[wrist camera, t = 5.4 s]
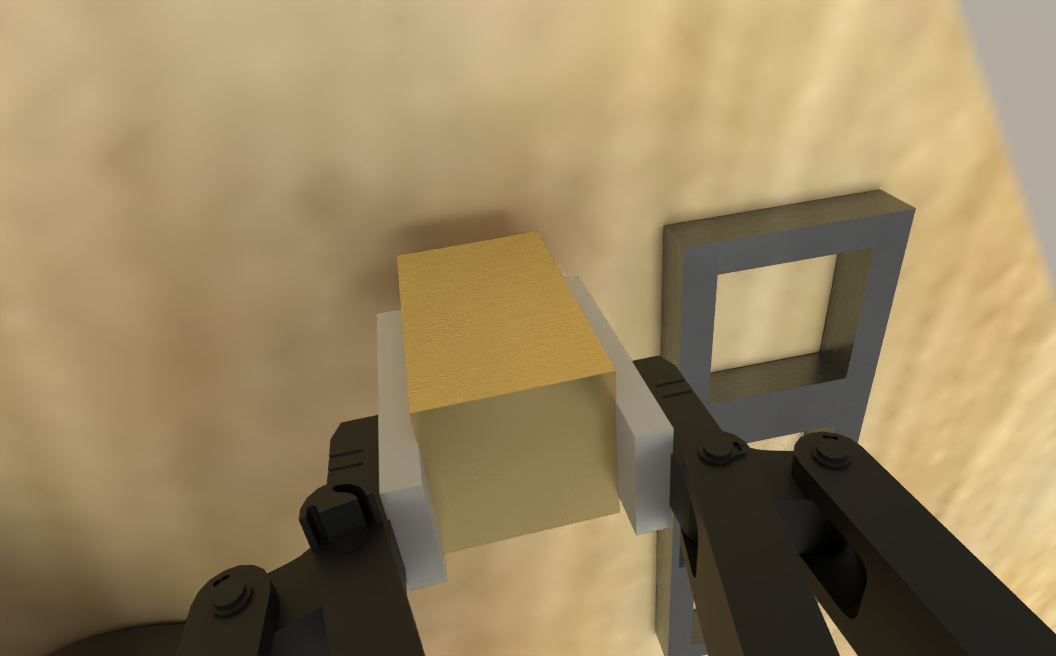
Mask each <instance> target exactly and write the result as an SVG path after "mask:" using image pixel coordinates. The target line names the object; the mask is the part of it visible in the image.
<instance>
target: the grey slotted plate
mask: <svg viewBox="0 0 1056 656" xmlns="http://www.w3.org/2000/svg"><path fill="white" fill-rule="evenodd" d="M915 209H916V208H914V207H912V206H910V205H909V204H907V203H905V202H903V201H901V200H899V199H897V198H896V197H894V196H892V195H890V194H888V193H886V192H884V191H882V190H877V191H871V192H864V193H858V194H852V195H846V196H840V197H834V198H828V199H822V200H816V201H810V202H804V203H798V204H792V205H786V206H780V207H774V208H768V209H762V210H756V211H750V212H744V213H738V214H732V215H726V216H720V217H714V218H708V219H702V220H696V221H690V222H684V223H678V224H672V225H666V226H664V254H663V302H662V350H661V357H663V358H664V359H666V360H667V361H669V362H671V363H672V364H674V365H676V367H677V368H678V370H679V371H680V372H681V374H682V375H683V377H684V378H685V381H686V382H688V383H689V385H690V386H691V388H692V389H693V392H694V393H696V395H697V396H698V397H699V399H700V400H701V402H702V403H703V404H704V406H705V407H706V409H707V410H708V411H709V413H710V414H711V416H712V417H713V418H714V420H715V421H716V423H717V424H718V425H719V427H720V428H721V430H722V431H725V432H728V433H731V434H734V435H736V436H738V437H739V438H741V439H742V440H744V441H745V442H746V443H750V442H755V441H760V440H765V439H770V438H775V437H780V436H785V435H790V434H794V433H799V432H804V431H806V432H805V435H807V434H809V433H813V432H822V431H824V432H831V433H837V434H840V435H843V436H845V437H848V438H850V439H852V440H853V441H855V442H856V443H858V439H859V435H860V431H861V427H862V423H863V419H864V415H865V411H866V407H867V403H868V399H869V395H870V391H871V387H872V383H873V379H874V375H875V371H876V367H877V363H878V359H879V355H880V351H881V346H882V342H883V338H884V334H885V330H886V326H887V322H888V318H889V314H890V310H891V306H892V302H893V298H894V294H895V290H896V286H897V282H898V278H899V274H900V270H901V266H902V262H903V258H904V254H905V250H906V246H907V242H908V237H909V233H910V229H911V225H912V221H913V217H914V213H915ZM838 253H839V254H838ZM833 254H838V260H837V265H836V270H835V276H834V281H833V286H832V292H831V297H830V303H829V308H828V313H827V319H826V324H825V330H824V335H823V340H822V346H821V351H820V353H814V354H809V355H804V356H799V357H794V358H788V359H783V360H778V361H773V362H767V363H762V364H757V365H752V366H746V367H741V368H736V369H731V370H726V371H720V372H715V373H710V370H711V357H712V343H713V330H714V316H715V302H716V289H717V275H719V274H725V273H730V272H736V271H742V270H747V269H753V268H759V267H764V266H770V265H776V264H782V263H787V262H793V261H799V260H804V259H810V258H816V257H821V256H827V255H833ZM679 543H680V524H679V522H678V521H677V519H676V517H675V515H674V513H673V511H672V509H671V527H669V528H665V529H661V530H658V540H657V588H656V635H657V637H658V640H659V643H660V645H661V648H662V651H663V653H664V656H703V655H707V654H708V653H707V649H706V645H705V641H704V637H703V633H702V629H701V625H700V622H699V618H698V614H697V610H694V611H693V603H694V598H693V594H692V590H691V586H690V582H689V578H688V574H687V570H686V566H685V563H684V567H682V568H679ZM814 597H815V596H814ZM815 599H816V597H815ZM816 601H817V604H818V600H817V599H816Z"/></svg>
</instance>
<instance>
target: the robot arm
mask: <svg viewBox="0 0 1056 656" xmlns="http://www.w3.org/2000/svg"><path fill="white" fill-rule="evenodd" d="M564 280H565V281H566V283H567V285H568V287H569V289H570V290H571V292H572V294H573V296H574V298H575V299H576V301H577V303H578V305H579V306H580V308H581V310H582V312H583V314H584V315H585V317H586V319H587V321H588V322H589V324H590V326H591V328H592V330H593V331H594V333H595V335H596V337H597V339H598V340H599V342H600V344H601V346H602V347H603V349H604V351H605V353H606V355H607V356H608V358H609V360H610V362H611V363H612V365H613V367H614V369H615V371H616V432H617V465H618V495H619V497H620V500H621V502H622V504H623V506H624V509H625V511H626V513H627V515H628V518H629V520H630V522H631V524H632V527H633V529H634V531H635V533H636V535H640V534H644V533H648V532H652V531H657V530H661V529H665V528H669V527H671V509H672V511H673V513H674V515H675V517H676V519H677V521H678V522H679V524H680V543H679V568H682V567H684V563H685V566H686V570H687V574H688V578H689V582H690V586H691V590H692V594H693V598H694V602H695V606H696V610H697V614H698V618H699V622H700V625H701V629H702V633H703V637H704V641H705V645H706V649H707V653H708V656H840V655H839V652H838V650H837V648H836V645H835V643H834V641H833V638H832V636H831V634H830V631H829V629H828V627H827V624H826V622H825V620H824V618H823V615H822V613H821V611H820V608H819V606H818V604H817V601H816V599H817V600H818V601H819V603H820V604H821V605H822V607H823V608H824V610H825V611H826V612H827V614H828V615H829V616H830V618H831V619H832V621H833V622H834V623H835V625H836V626H837V628H838V629H839V630H840V632H841V633H842V634H843V636H844V637H845V639H846V640H847V641H848V643H849V644H850V645H851V647H852V648H853V650H854V651H855V652H856V654H857V655H858V656H1056V634H1055V633H1054V632H1053V631H1052V630H1051V629H1050V628H1049V627H1048V626H1047V625H1046V624H1045V623H1044V622H1043V621H1042V620H1041V619H1040V618H1039V617H1038V616H1037V615H1036V614H1034V613H1033V612H1032V611H1031V610H1030V609H1029V608H1028V607H1027V606H1026V605H1025V604H1024V603H1023V602H1022V601H1021V600H1020V599H1019V598H1018V597H1017V596H1016V595H1015V594H1014V593H1013V592H1012V591H1011V590H1010V589H1009V588H1008V587H1007V586H1006V585H1004V584H1003V583H1002V582H1001V581H1000V580H999V579H998V578H997V577H996V576H995V575H994V574H993V573H992V572H991V571H990V570H989V569H988V568H987V567H986V566H985V565H984V564H983V563H982V562H981V561H980V560H979V559H978V558H977V557H976V556H974V555H973V554H972V553H971V552H970V551H969V550H968V549H967V548H966V547H965V546H964V545H963V544H962V543H961V542H960V541H959V540H958V539H957V538H956V537H955V536H954V535H953V534H952V533H951V532H950V531H949V530H948V529H947V528H946V527H944V526H943V525H942V524H941V523H940V522H939V521H938V520H937V519H936V518H935V517H934V516H933V515H932V514H931V513H930V512H929V511H928V510H927V509H926V508H925V507H924V506H923V505H922V504H921V503H920V502H919V501H918V500H917V499H916V498H914V497H913V496H912V495H911V494H910V493H909V492H908V491H907V490H906V489H905V488H904V487H903V486H902V485H901V484H900V483H899V482H898V481H897V480H896V479H895V478H894V477H893V476H892V475H891V474H890V473H889V472H888V471H887V470H886V469H884V468H883V467H882V466H881V465H880V464H879V463H878V462H877V461H876V460H875V459H874V458H873V457H872V456H871V455H870V454H869V453H868V452H867V451H866V450H865V449H864V448H863V447H862V446H860V445H859V444H858V443H856V442H855V441H853V440H852V439H850V438H848V437H845V436H843V435H840V434H837V433H831V432H824V431H822V432H813V433H809V434H807V435H804V436H802V437H800V438H799V440H798V441H797V442H796V444H795V447H794V451H770V450H758V449H753V448H749V446H748V445H747V443H746V442H745V441H744V440H742V439H741V438H739V437H738V436H736V435H734V434H731V433H728V432H725V431H722V430H721V428H720V427H719V425H718V424H717V423H716V421H715V420H714V418H713V417H712V416H711V414H710V413H709V411H708V410H707V409H706V407H705V406H704V404H703V403H702V402H701V400H700V399H699V397H698V396H697V395H696V393H694V392H693V389H692V388H691V386H690V385H689V383H688V382H686V381H685V378H684V377H683V375H682V374H681V372H680V371H679V370H678V368H677V367H676V365H674V364H672V363H671V362H669V361H667V360H666V359H664V358H663V357H661V356H659V355H658V356H654V357H649V358H644V359H639V360H634V361H631V359H630V357H629V356H628V354H627V353H626V351H625V349H624V348H623V346H622V344H621V343H620V341H619V340H618V338H617V336H616V335H615V333H614V332H613V330H612V328H611V327H610V325H609V323H608V322H607V320H606V319H605V317H604V315H603V314H602V312H601V311H600V309H599V307H598V306H597V304H596V302H595V301H594V299H593V298H592V296H591V294H590V293H589V291H588V289H587V288H586V286H585V285H584V283H583V281H582V280H581V278H580V277H579V276H575V277H570V278H565V279H564ZM377 364H378V415H375V416H371V417H366V418H361V419H356V420H351V421H347V422H342V423H340V425H339V427H338V428H337V430H336V432H335V433H334V435H333V436H332V438H331V441H330V453H329V457H330V459H329V465H328V471H329V473H328V478H327V484H326V485H324V486H322V487H320V488H318V489H317V490H316V491H315V492H313V493H312V494H311V495H310V496H309V497H308V498H307V499H306V501H305V502H304V504H303V505H302V507H301V509H300V516H299V521H300V524H301V526H302V529H303V531H304V533H305V536H306V538H307V540H308V543H309V545H310V548H309V549H308V550H307V551H306V552H305V553H303V554H302V555H301V556H299V557H298V558H296V559H295V560H293V561H291V562H289V563H287V564H285V565H283V566H281V567H279V568H277V569H276V570H274V571H272V572H270V573H268V574H267V573H266V572H265V570H264V569H262V568H260V567H257V566H254V565H239V566H236V567H233V568H231V569H228V570H225V571H223V572H221V573H220V574H218V575H217V576H215V577H214V578H212V579H211V580H209V581H208V582H207V583H206V584H205V585H204V587H203V588H202V589H201V590H200V591H199V592H198V593H197V595H196V597H195V599H194V601H193V603H192V605H191V608H190V611H189V614H188V617H187V620H186V624H173V625H157V626H147V627H140V628H133V629H127V630H122V631H117V632H112V633H108V634H104V635H100V636H97V637H93V638H90V639H87V640H84V641H81V642H78V643H76V644H73V645H71V646H69V647H66V648H64V649H62V650H60V651H58V652H56V653H54V654H52V655H50V656H425V653H424V649H423V646H422V643H421V640H420V636H419V633H418V630H417V627H416V624H415V620H414V617H413V614H412V611H411V608H410V605H409V601H408V598H407V589H406V580H407V584H408V587H409V590H413V589H417V588H421V587H425V586H429V585H434V584H438V583H442V582H446V581H447V576H446V567H445V559H444V550H443V542H442V535H441V531H440V527H439V523H438V519H437V515H436V511H435V507H434V503H433V499H432V495H431V492H430V488H429V484H428V480H427V476H426V472H425V468H424V464H423V460H422V456H421V452H420V448H419V444H418V443H417V442H416V438H415V434H414V430H413V426H412V422H411V418H410V414H409V404H408V391H407V379H406V366H405V354H404V341H403V329H402V316H401V309H400V310H394V311H389V312H384V313H378V314H377ZM814 596H815V597H816V599H815V597H814Z"/></svg>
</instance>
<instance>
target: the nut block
mask: <svg viewBox="0 0 1056 656" xmlns="http://www.w3.org/2000/svg"><path fill="white" fill-rule="evenodd" d="M397 266H398V279H399V291H400V304H401V316H402V329H403V341H404V354H405V366H406V379H407V391H408V404H409V414H410V418H411V422H412V426H413V430H414V434H415V438H416V442H417V443H418V444H419V448H420V452H421V456H422V460H423V464H424V468H425V472H426V476H427V480H428V484H429V488H430V492H431V495H432V499H433V503H434V507H435V511H436V515H437V519H438V523H439V527H440V531H441V535H442V542H443V548H444V552H445V553H449V552H454V551H458V550H462V549H466V548H471V547H475V546H479V545H483V544H488V543H492V542H496V541H500V540H505V539H509V538H513V537H517V536H522V535H526V534H530V533H534V532H539V531H543V530H547V529H551V528H556V527H560V526H564V525H568V524H573V523H577V522H581V521H585V520H590V519H594V518H598V517H602V516H607V515H611V514H615V513H619V512H620V506H619V495H618V465H617V432H616V371H615V369H614V367H613V365H612V363H611V362H610V360H609V358H608V356H607V355H606V353H605V351H604V349H603V347H602V346H601V344H600V342H599V340H598V339H597V337H596V335H595V333H594V331H593V330H592V328H591V326H590V324H589V322H588V321H587V319H586V317H585V315H584V314H583V312H582V310H581V308H580V306H579V305H578V303H577V301H576V299H575V298H574V296H573V294H572V292H571V290H570V289H569V287H568V285H567V283H566V281H565V280H564V278H563V276H562V274H561V273H560V271H559V269H558V267H557V265H556V264H555V262H554V260H553V258H552V256H551V255H550V253H549V251H548V249H547V248H546V246H545V244H544V242H543V240H542V239H541V237H540V235H539V233H538V232H537V231H535V232H530V233H524V234H518V235H513V236H507V237H501V238H496V239H490V240H484V241H479V242H473V243H467V244H462V245H456V246H450V247H445V248H439V249H433V250H428V251H422V252H416V253H411V254H405V255H399V256H397Z"/></svg>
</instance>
